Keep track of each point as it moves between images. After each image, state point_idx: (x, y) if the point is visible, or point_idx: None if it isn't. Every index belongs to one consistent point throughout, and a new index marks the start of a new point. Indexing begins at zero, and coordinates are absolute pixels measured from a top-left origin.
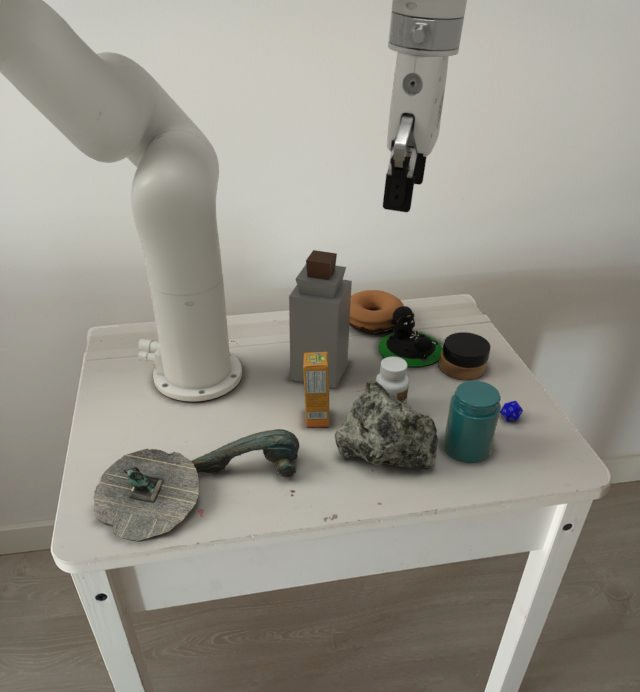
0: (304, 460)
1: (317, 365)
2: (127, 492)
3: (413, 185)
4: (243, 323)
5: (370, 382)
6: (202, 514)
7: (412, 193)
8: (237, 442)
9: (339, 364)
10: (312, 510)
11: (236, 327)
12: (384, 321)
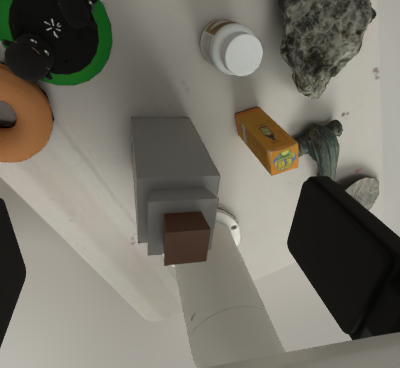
0: (306, 116)
1: (297, 154)
2: None
3: (388, 231)
4: (93, 244)
5: (313, 82)
6: (360, 168)
7: (358, 209)
8: (332, 178)
9: (178, 126)
10: (366, 91)
11: (104, 246)
12: (37, 90)
